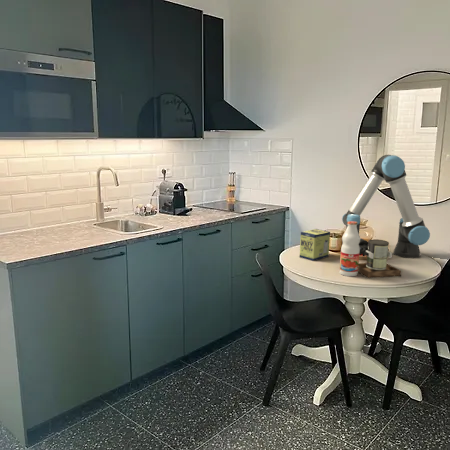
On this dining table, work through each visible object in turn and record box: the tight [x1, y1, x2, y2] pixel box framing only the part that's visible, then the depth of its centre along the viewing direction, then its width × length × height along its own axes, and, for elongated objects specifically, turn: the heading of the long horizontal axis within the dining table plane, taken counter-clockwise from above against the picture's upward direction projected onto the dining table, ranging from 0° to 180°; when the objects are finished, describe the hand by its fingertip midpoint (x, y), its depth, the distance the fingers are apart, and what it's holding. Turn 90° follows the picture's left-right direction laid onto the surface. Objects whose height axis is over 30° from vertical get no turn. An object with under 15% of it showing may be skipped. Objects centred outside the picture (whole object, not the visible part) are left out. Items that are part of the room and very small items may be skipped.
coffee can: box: [366, 238, 390, 270], centre depth 240 cm, size 10×10×14 cm
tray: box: [358, 262, 402, 279], centre depth 241 cm, size 19×16×3 cm
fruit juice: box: [339, 221, 361, 277], centre depth 236 cm, size 9×9×28 cm
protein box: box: [299, 228, 331, 262], centre depth 268 cm, size 10×16×16 cm
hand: (382, 255), depth 236 cm, fingers closed on coffee can, 10 cm apart
